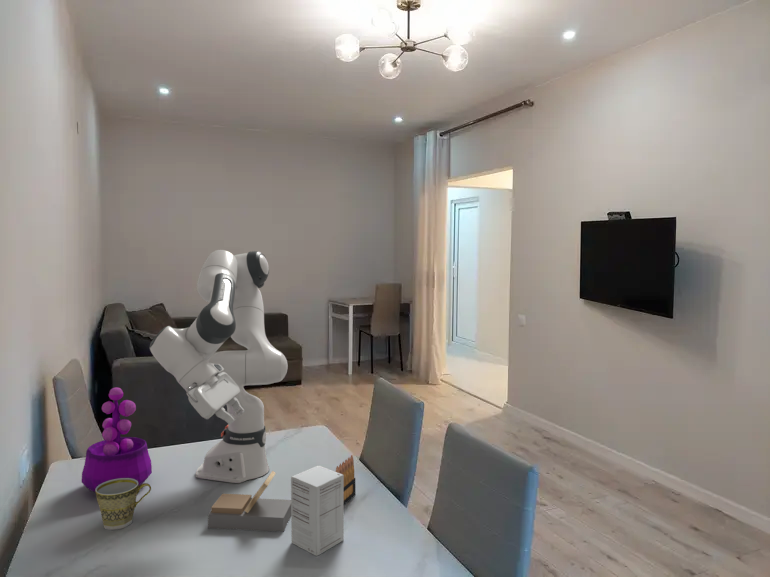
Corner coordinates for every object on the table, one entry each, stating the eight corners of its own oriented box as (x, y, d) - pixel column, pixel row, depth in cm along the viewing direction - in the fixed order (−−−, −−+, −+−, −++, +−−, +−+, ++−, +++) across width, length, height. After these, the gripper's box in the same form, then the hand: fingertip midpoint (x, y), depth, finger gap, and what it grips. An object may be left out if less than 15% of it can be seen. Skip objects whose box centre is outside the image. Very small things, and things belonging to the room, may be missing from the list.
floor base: (208, 528, 140) (207, 509, 140) (222, 509, 150) (221, 491, 150) (283, 531, 139) (283, 512, 139) (292, 512, 149) (292, 494, 149)
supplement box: (318, 528, 141) (318, 464, 140) (344, 540, 135) (345, 473, 134) (289, 543, 134) (289, 475, 132) (316, 557, 128) (316, 486, 127)
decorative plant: (146, 469, 176) (144, 377, 174) (158, 491, 161) (156, 390, 159) (79, 482, 166) (76, 384, 164) (84, 507, 150) (82, 399, 148)
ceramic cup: (96, 537, 135) (95, 497, 135) (96, 519, 144) (95, 482, 143) (153, 525, 141) (152, 487, 140) (150, 509, 150) (149, 473, 149)
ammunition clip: (338, 510, 151) (338, 467, 150) (332, 509, 152) (332, 466, 151) (355, 494, 161) (356, 454, 160) (350, 493, 161) (350, 453, 161)
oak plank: (247, 513, 140) (244, 510, 140) (257, 499, 148) (253, 496, 148) (267, 485, 139) (264, 483, 140) (275, 473, 147) (272, 470, 147)
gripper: (192, 380, 132) (232, 421, 132) (222, 363, 152) (257, 399, 153) (174, 398, 133) (214, 439, 133) (206, 378, 153) (241, 414, 153)
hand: (237, 417), depth 143 cm, fingers open, 6 cm apart
